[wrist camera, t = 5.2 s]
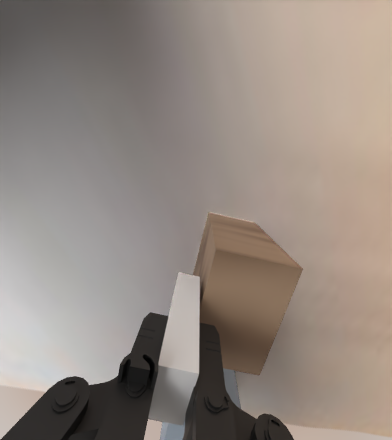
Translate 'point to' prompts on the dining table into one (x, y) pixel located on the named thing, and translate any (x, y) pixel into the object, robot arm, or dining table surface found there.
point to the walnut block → (243, 289)
